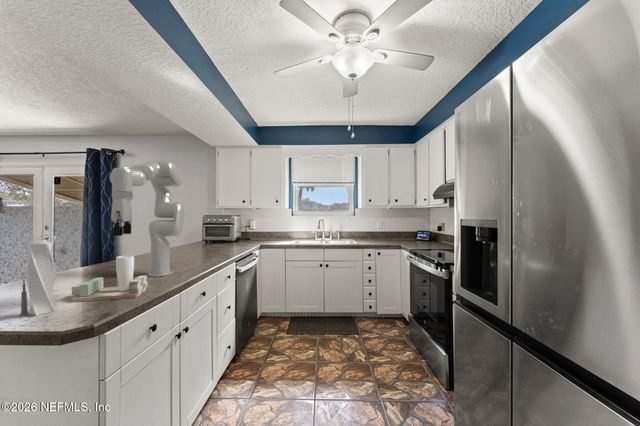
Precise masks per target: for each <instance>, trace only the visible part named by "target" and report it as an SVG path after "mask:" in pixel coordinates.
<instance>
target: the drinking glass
mask: <svg viewBox="0 0 640 426" xmlns="http://www.w3.org/2000/svg"><path fill="white" fill-rule="evenodd" d="M115 269H116V270H115V271H116V278H117V287H118V290H119V291H128V290H129V282H131V281H132V280H134V272H135V256H134V255H133V254H132V255H119V256H116V257H115Z"/></svg>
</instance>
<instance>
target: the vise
mask: <svg viewBox="0 0 640 426" xmlns="http://www.w3.org/2000/svg"><path fill="white" fill-rule="evenodd" d="M148 289H149V284H148V274H147V275H146V274H143V275H138V276H137V277H136V278H133V280H132V281H131V282H129V290H128V291H119V290H118V286H109V287H106V286H105V287H104V288H102V289H100V290H98V291H96V292H94V293H93V294H91V295H89V296H80V295H75V296H74V297H72V298H71V303H78V302H79V303H80V302H93V301H94V302H95V300H98V301H109V300H111V301H112V299H113V300H123V299H125V300H126V299H136V298H138V297H139V296H141V295H142V294H143V293H145V291H147V290H148Z"/></svg>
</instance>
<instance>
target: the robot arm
mask: <svg viewBox="0 0 640 426" xmlns="http://www.w3.org/2000/svg"><path fill="white" fill-rule="evenodd" d="M109 181H110V183H111V195H112V196H111V200H112V203H111V216H110V217H111V219H110V220H111V222H112V223H113V224H112V225H113V236H114V237H121V236H123V235H131V234H132V218H133V209H132V201H133V200H134V199H133V196H134V194H133V192H134V191H133V190H134V189H133V188H134V187H142V186H144V185H146V182H147V181H150V183H151V186H152V187H153V189H154V193H155V200H154V201H155V203H154V210H153V212H154V213H153V214H154V216H155V217H156V218H158V219H155V220H152V221H150V222H149V224H148V231H149V232H148V233H149V238H150V271H149V272H148V273H147V277H153V278H154V277H156V278H157V277H164V276H165V277H166V276H170V275H172V274H173V273H174V272H173V270H171V269H170V268H171V265H170V263H171V262H170V260H171V259H170V258H171V256H170V253H171V252H170V251H171V249H170V247H171V246H170V242H169V240H168V239H167V237H178V236H179V237H180V236H181V235H182V233H183V231H184V230H183V229H184V219H185V207H184V205H183V204H182V203H181V202H177V201H176V202H175V201H173V200H172V199H173V194H172V192H171V191H170V190H169V189H168V188H167V187H179V186H181V185H182V183H183V176H182V174H181V173H180V171H179V169H178V168H177V166H176V165H175V164H174V163H173V162H171V161H169V160H151V161H148V162H145V163H142V164H136V165H131V166H124V167H114V168H113V169H112V170H111V172H110V174H109Z"/></svg>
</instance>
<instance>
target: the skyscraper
mask: <svg viewBox="0 0 640 426" xmlns="http://www.w3.org/2000/svg"><path fill="white" fill-rule="evenodd" d="M45 238H53V239H52V242H50V241H49V242H48V241H47V240H45ZM56 238H57V236H55V235H46V236H45V235H44V236H41V237H39V238H38V239H37V240H35V241H31V242H29V243H27V246H28V249H29V253H30V256H29V259H28V263H27V270H26V282H27V283H25V279H23V280H22V291H21V293H20V294H21V297H20V299H21V301H20V303H21V304H20V314H19V316H22V317H27V318H30V319H31V318H33V317H38V316H42V315H46V314H50V313H54V312H56V310H55V307H54V305H53V303H52V300H51V299H52V296H53V294H54V293H53V292H54V288H55V284H56V283H55V282H56V263H55V261H54V260H55V259H54V257H53V255H52V249H53V247H54V242H55V241H56ZM42 239H43V240H42ZM26 284H27V289H28V290H26ZM27 293H28V295H29V299H30V303H31V306H30V307H29V310H28V296H27Z"/></svg>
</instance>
